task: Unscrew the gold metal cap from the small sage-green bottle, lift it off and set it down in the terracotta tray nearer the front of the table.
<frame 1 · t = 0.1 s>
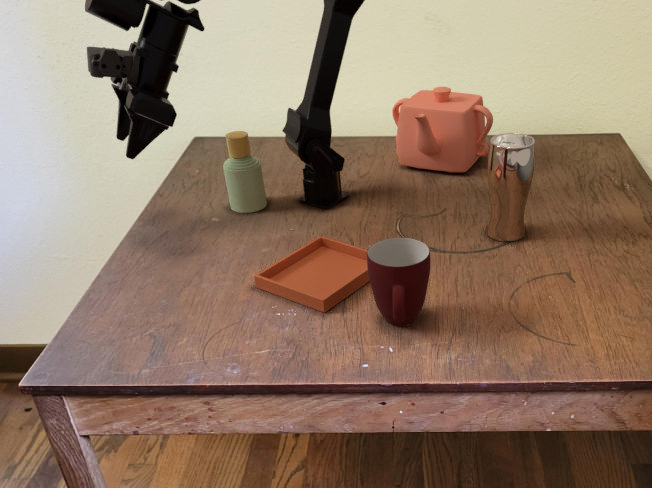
hand: (124, 148, 108), 15 cm above the table, tool tilted 30°, fingers open, 9 cm apart
mug: (401, 324, 95), on the table
teapot: (435, 168, 138), on the table
bottle cap: (237, 136, 119), point 12 cm above the table, screwed on, not yet turned
beer glass: (505, 234, 115), on the table
tray: (323, 277, 106), on the table
bottle: (248, 205, 127), on the table
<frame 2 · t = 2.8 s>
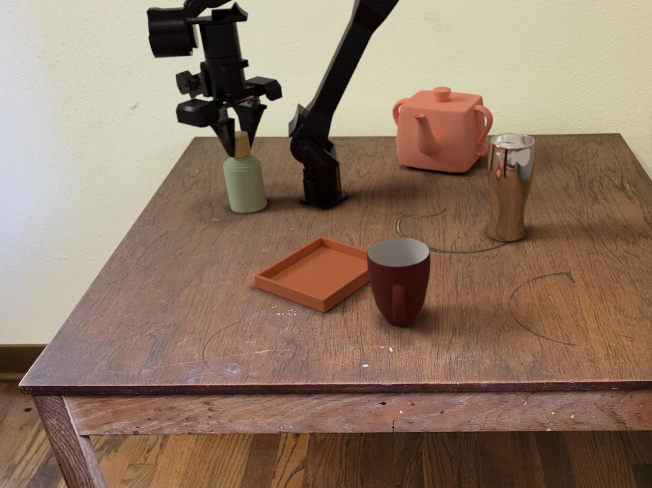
hand: (240, 153, 121), 9 cm above the table, tool pointing down, fingers closed on bottle cap, 3 cm apart
bottle cap: (237, 136, 119), point 12 cm above the table, screwed on, not yet turned, touching gripper
everything else where it was.
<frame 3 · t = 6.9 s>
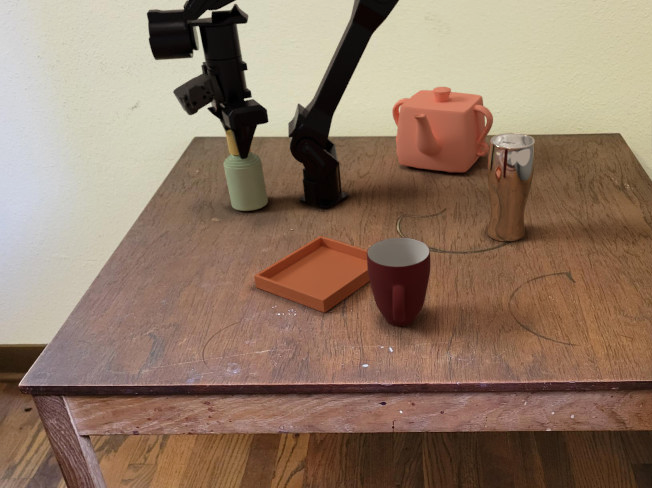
hand: (240, 155, 121), 9 cm above the table, tool pointing down, fingers closed on bottle cap, 3 cm apart
bottle cap: (237, 134, 119), point 13 cm above the table, turned 62° so far, risen 0.1 cm, still on its thread, touching gripper
bottle: (249, 203, 126), on the table
everything else where it was.
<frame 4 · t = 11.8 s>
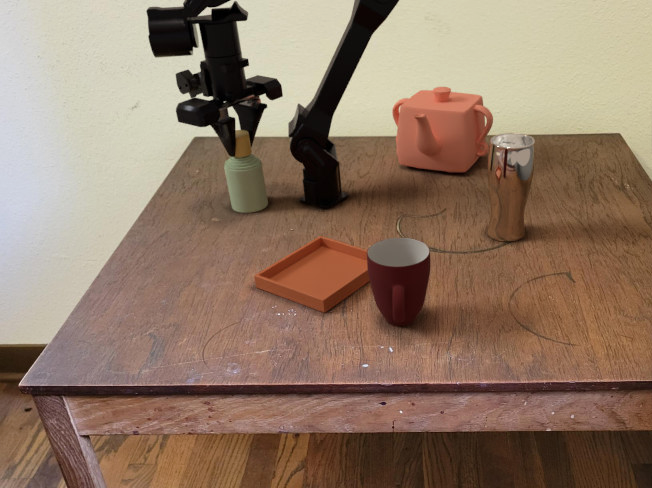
hand: (240, 152, 121), 9 cm above the table, tool pointing down, fingers closed on bottle cap, 3 cm apart
bottle cap: (237, 136, 119), point 12 cm above the table, turned 125° so far, risen 0.1 cm, still on its thread, touching gripper
bottle: (250, 205, 127), on the table
everything else where it was.
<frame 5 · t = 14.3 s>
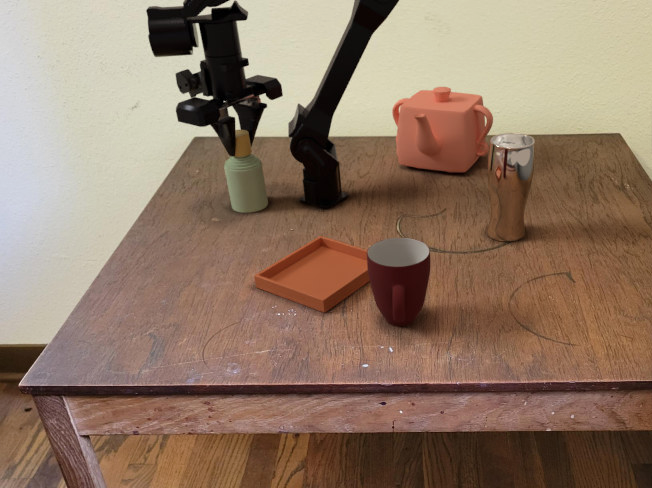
hand: (240, 152, 121), 9 cm above the table, tool pointing down, fingers closed on bottle cap, 3 cm apart
bottle cap: (237, 135, 119), point 12 cm above the table, turned 187° so far, risen 0.2 cm, still on its thread, touching gripper
everything else where it was.
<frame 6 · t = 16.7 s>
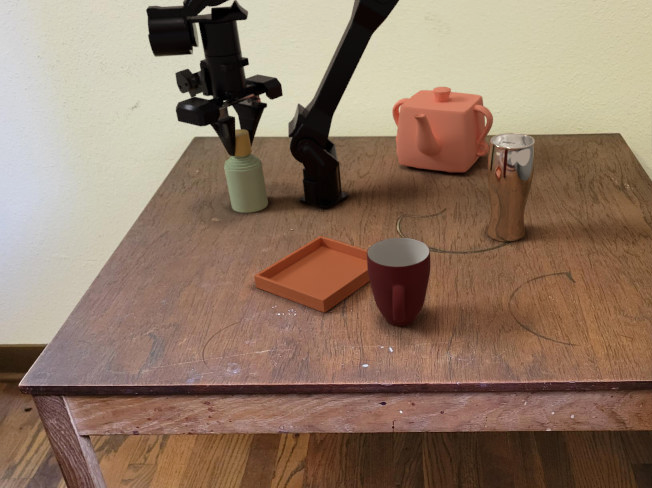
hand: (240, 152, 121), 10 cm above the table, tool pointing down, fingers closed on bottle cap, 3 cm apart
bottle cap: (237, 135, 119), point 12 cm above the table, turned 250° so far, risen 0.2 cm, still on its thread, touching gripper
everything else where it was.
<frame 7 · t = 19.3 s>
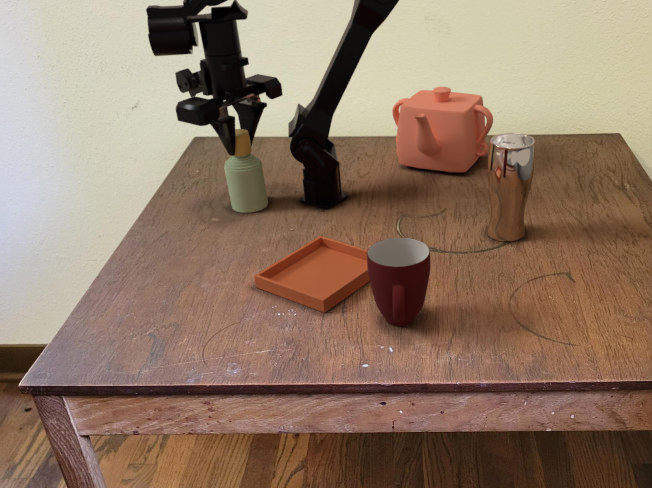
hand: (240, 151, 121), 10 cm above the table, tool pointing down, fingers closed on bottle cap, 3 cm apart
bottle cap: (237, 135, 119), point 12 cm above the table, turned 312° so far, risen 0.3 cm, still on its thread, touching gripper
everything else where it was.
when the fingers open (2 cm above the table, at t = 26.1 s): bottle cap drops 2 cm, resting on tray.
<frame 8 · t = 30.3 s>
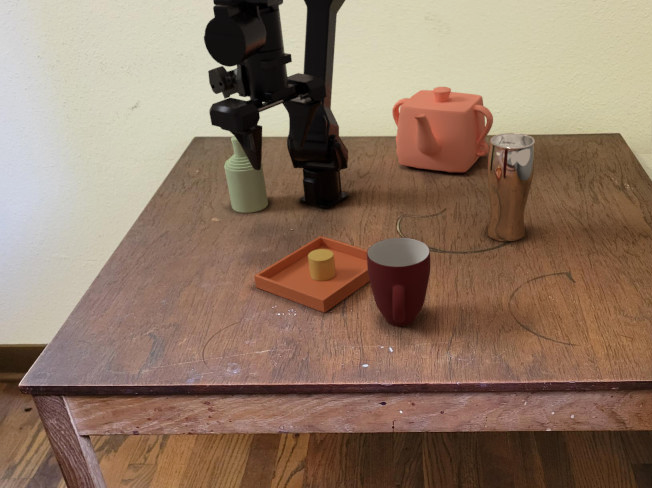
hand: (278, 159, 108), 13 cm above the table, tool pointing down, fingers open, 9 cm apart
bottle cap: (320, 257, 103), point 3 cm above the table, off its thread, touching tray
everything else where it was.
at the end: bottle cap inside the target area in the tray (0.1 cm from its centre), point 3.4 cm above the tray's base; bottle cap point 3.4 cm above the table; the gripper is holding nothing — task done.
